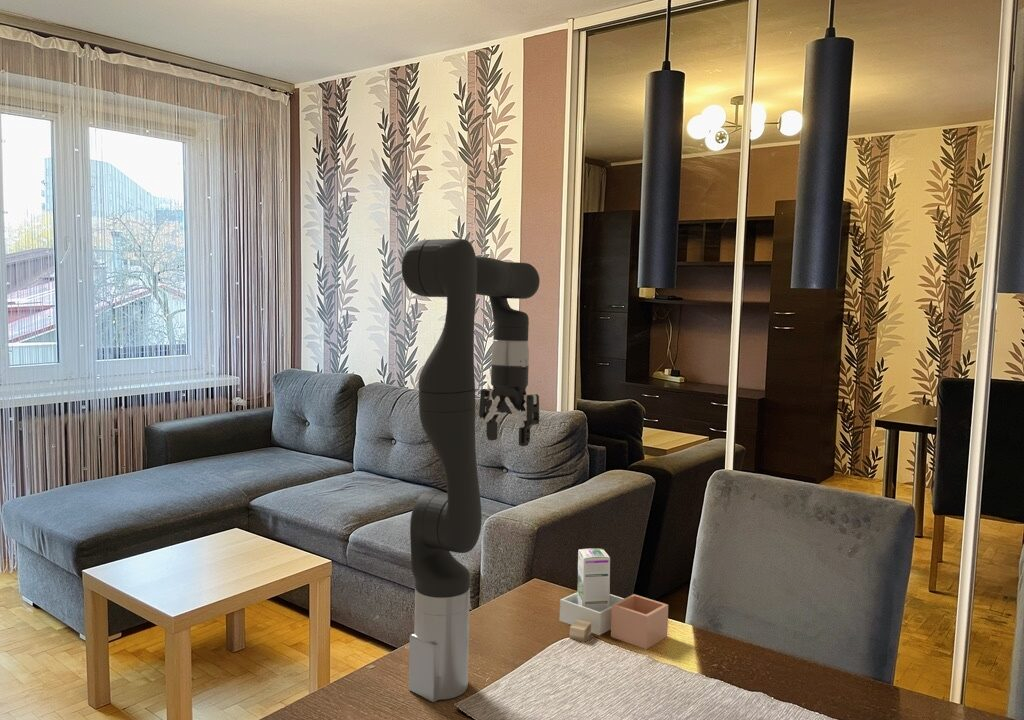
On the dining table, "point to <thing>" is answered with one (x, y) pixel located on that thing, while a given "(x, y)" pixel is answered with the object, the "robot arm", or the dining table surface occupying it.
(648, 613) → the open box
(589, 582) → the syrup box
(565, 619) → the bin
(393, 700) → the dining table surface
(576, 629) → the beech block
